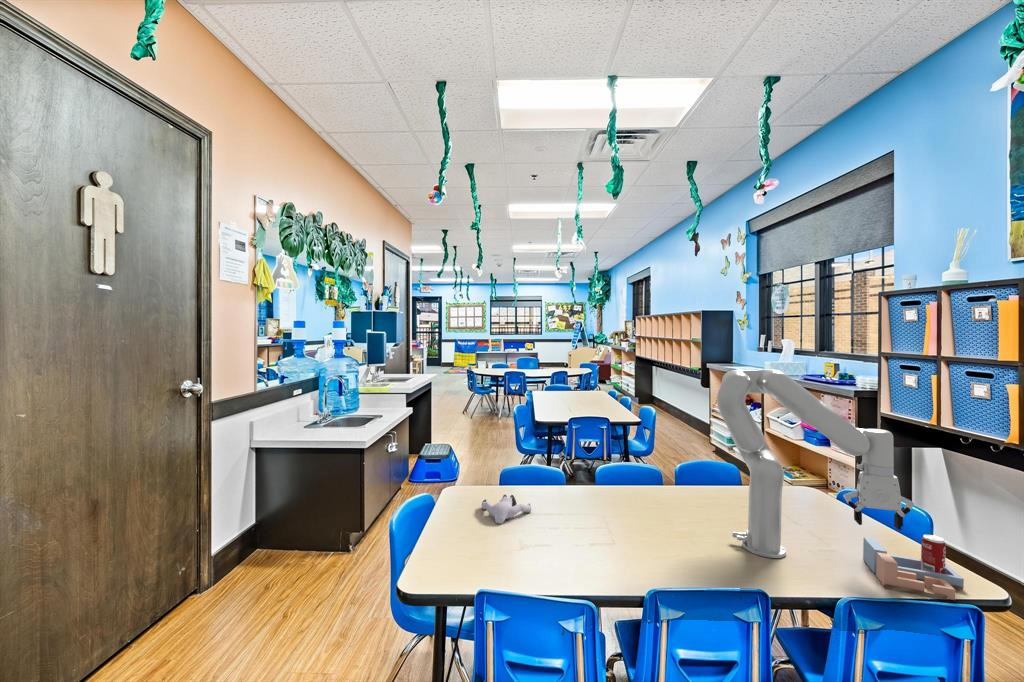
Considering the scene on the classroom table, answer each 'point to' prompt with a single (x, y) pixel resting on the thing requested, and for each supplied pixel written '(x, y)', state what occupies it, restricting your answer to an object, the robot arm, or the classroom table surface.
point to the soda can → (933, 554)
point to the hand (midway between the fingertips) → (878, 525)
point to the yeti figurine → (505, 508)
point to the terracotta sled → (896, 574)
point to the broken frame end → (940, 587)
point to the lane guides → (921, 591)
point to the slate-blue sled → (907, 564)
